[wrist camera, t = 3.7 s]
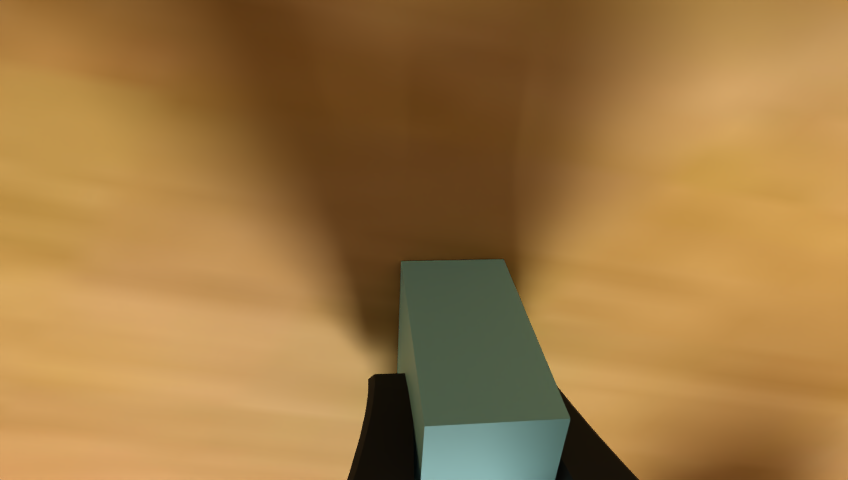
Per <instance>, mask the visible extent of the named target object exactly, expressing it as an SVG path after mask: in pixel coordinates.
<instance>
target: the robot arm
mask: <svg viewBox="0 0 848 480" xmlns="http://www.w3.org/2000/svg"><path fill="white" fill-rule="evenodd" d="M557 388H558V387H557ZM558 390H559V392H560V395H561V397H562V400H563V402H564V404H565V407H566V409H567V411H568V414H569V416H570V423H569V427H568V431H567V434H566V438H565V442H564V446H563V450H562V454H561V458H560V462H559V466H558V470H557V474H556V478H555V480H639V479H638V478H637V477H636V476H635V475H634V474H633V473H632V472H631V471H630V470H629V469H628V468H627V467H626V466H625V464H624V463H623V462H622V461H621V460H620V459H619V458H618V457H617V456H616V455H615V453H614V452H613V451H612V450H611V449H610V448H609V447H608V446H607V445H606V443H605V442H604V441H603V440H602V439H601V438H600V437H599V436H598V434H597V433H596V432H595V431H594V430H593V429H592V428H591V426H590V425H589V424H588V423H587V422H586V421H585V419H584V418H583V417H582V416H581V415H580V413H579V412H578V411H577V410H576V409H575V407H574V406H573V405H572V404H571V403H570V401H569V400H568V399H567V398H566V397H565V395H564V394H563V393H562V392H561V390H560V389H559V388H558ZM347 480H414V442H413V417H412V410H411V404H410V398H409V392H408V386H407V381H406V376H405V373H396V374H374V375H373V376H372V377H371V378H369V379H368V398H367V406H366V412H365V417H364V421H363V426H362V430H361V435H360V439H359V442H358V445H357V449H356V452H355V456H354V459H353V463H352V466H351V470H350V473H349V476H348V479H347Z"/></svg>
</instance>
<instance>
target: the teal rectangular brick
mask: <svg viewBox="0 0 848 480" xmlns="http://www.w3.org/2000/svg"><path fill="white" fill-rule="evenodd" d="M397 373H405V376H406V381H407V386H408V392H409V398H410V404H411V410H412V417H413V442H414V480H555V478H556V474H557V470H558V466H559V462H560V458H561V454H562V450H563V446H564V442H565V438H566V434H567V431H568V427H569V423H570V416H569V414H568V411H567V409H566V407H565V404H564V402H563V400H562V397H561V395H560V392H559V390H558V388H557V385H556V383H555V380H554V378H553V376H552V373H551V371H550V368H549V366H548V364H547V361H546V359H545V357H544V354H543V352H542V349H541V347H540V345H539V342H538V340H537V337H536V335H535V333H534V330H533V328H532V326H531V323H530V321H529V318H528V316H527V314H526V311H525V309H524V306H523V304H522V302H521V299H520V297H519V295H518V292H517V290H516V287H515V285H514V283H513V280H512V278H511V275H510V273H509V271H508V268H507V266H506V264H505V261H504V259H485V260H433V261H401V279H400V308H399V336H398V365H397Z"/></svg>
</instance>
